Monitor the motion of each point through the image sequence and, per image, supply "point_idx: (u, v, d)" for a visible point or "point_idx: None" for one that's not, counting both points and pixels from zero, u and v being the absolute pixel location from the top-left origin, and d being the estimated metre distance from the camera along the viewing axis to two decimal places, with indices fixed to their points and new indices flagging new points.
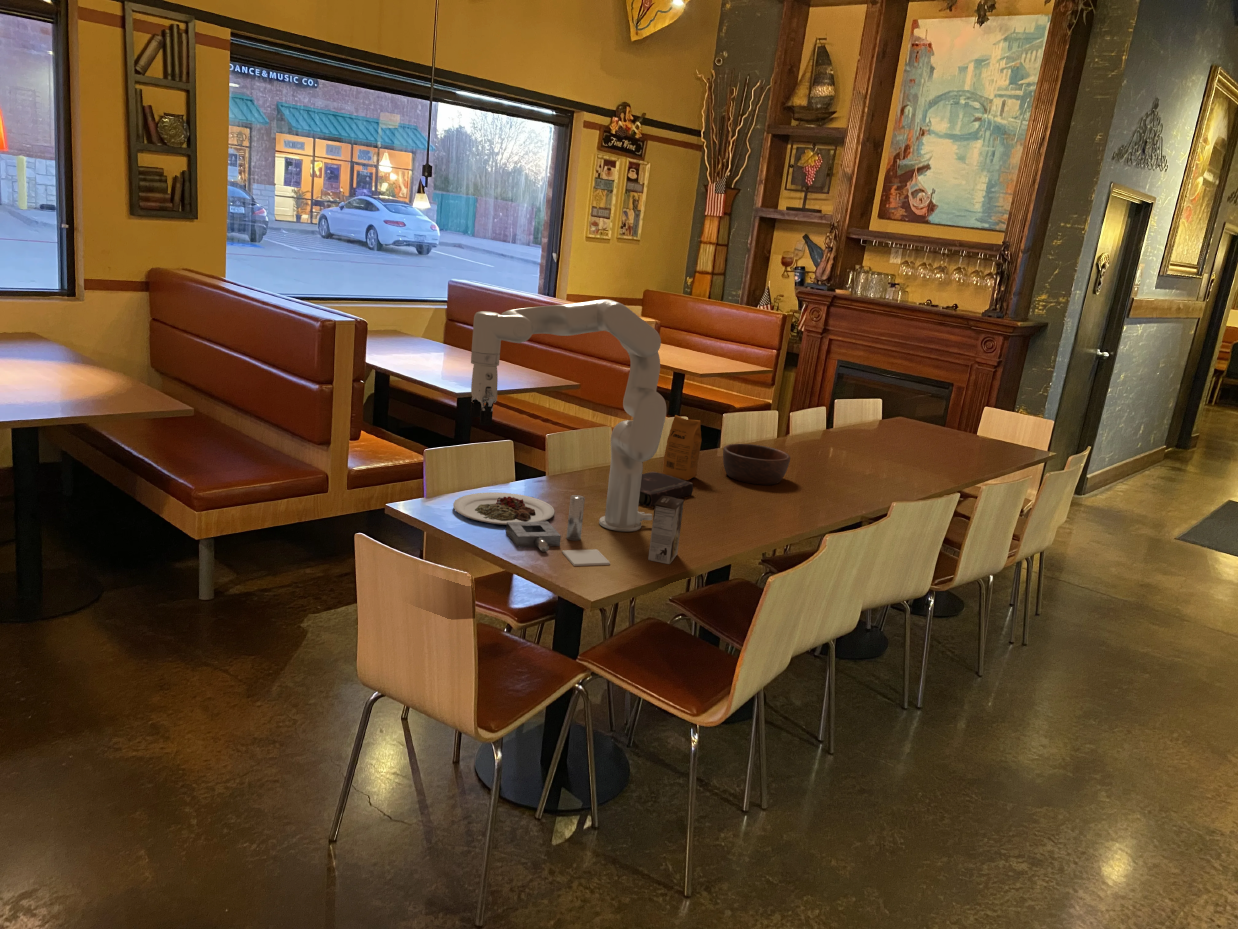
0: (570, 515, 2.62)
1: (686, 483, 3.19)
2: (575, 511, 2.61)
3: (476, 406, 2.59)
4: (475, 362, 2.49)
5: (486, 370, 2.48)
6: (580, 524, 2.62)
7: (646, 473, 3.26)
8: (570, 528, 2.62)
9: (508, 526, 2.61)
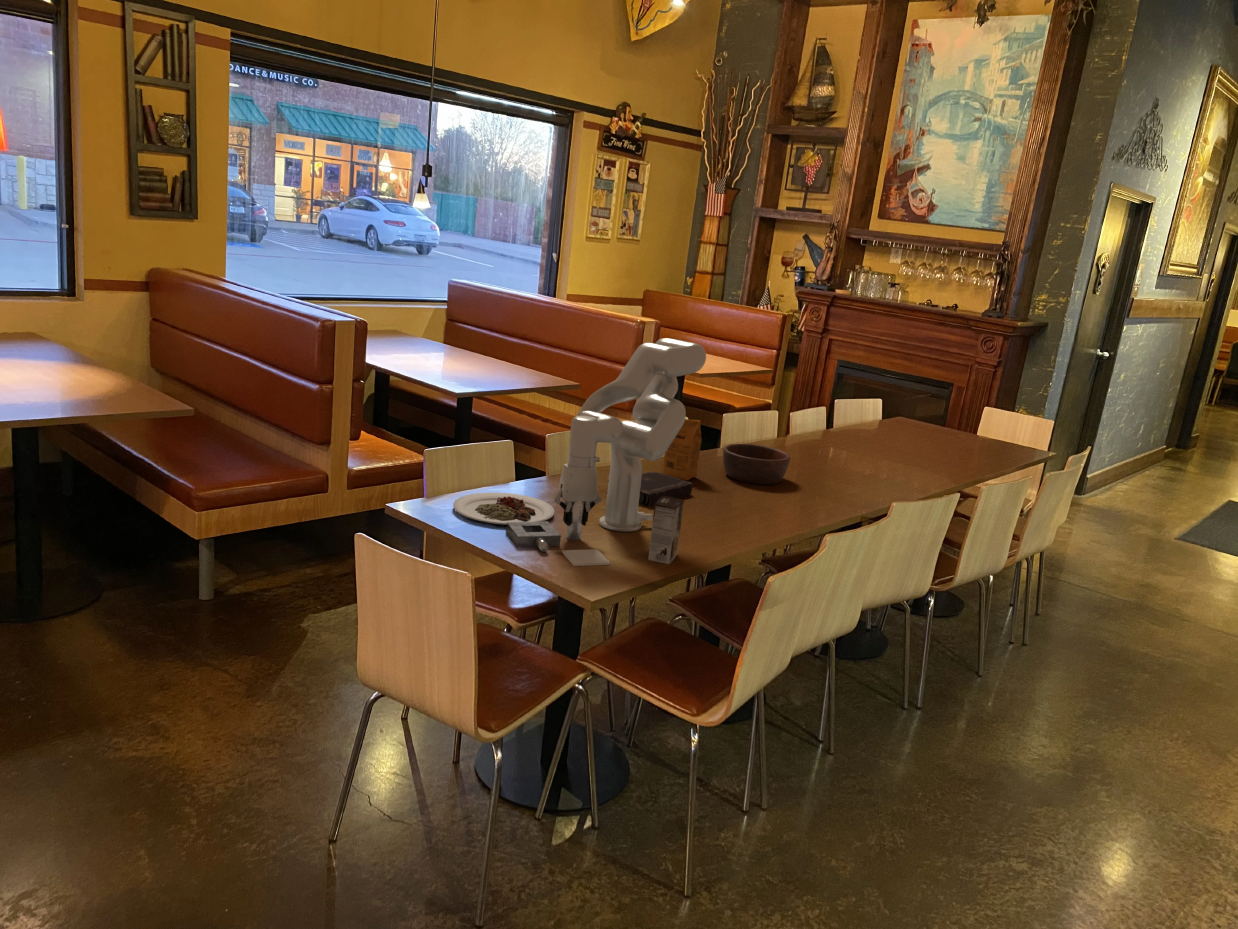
0: None
1: (685, 483, 3.19)
2: (575, 511, 2.61)
3: None
4: (591, 467, 2.57)
5: None
6: (580, 524, 2.62)
7: (645, 473, 3.27)
8: (570, 528, 2.62)
9: (508, 526, 2.61)
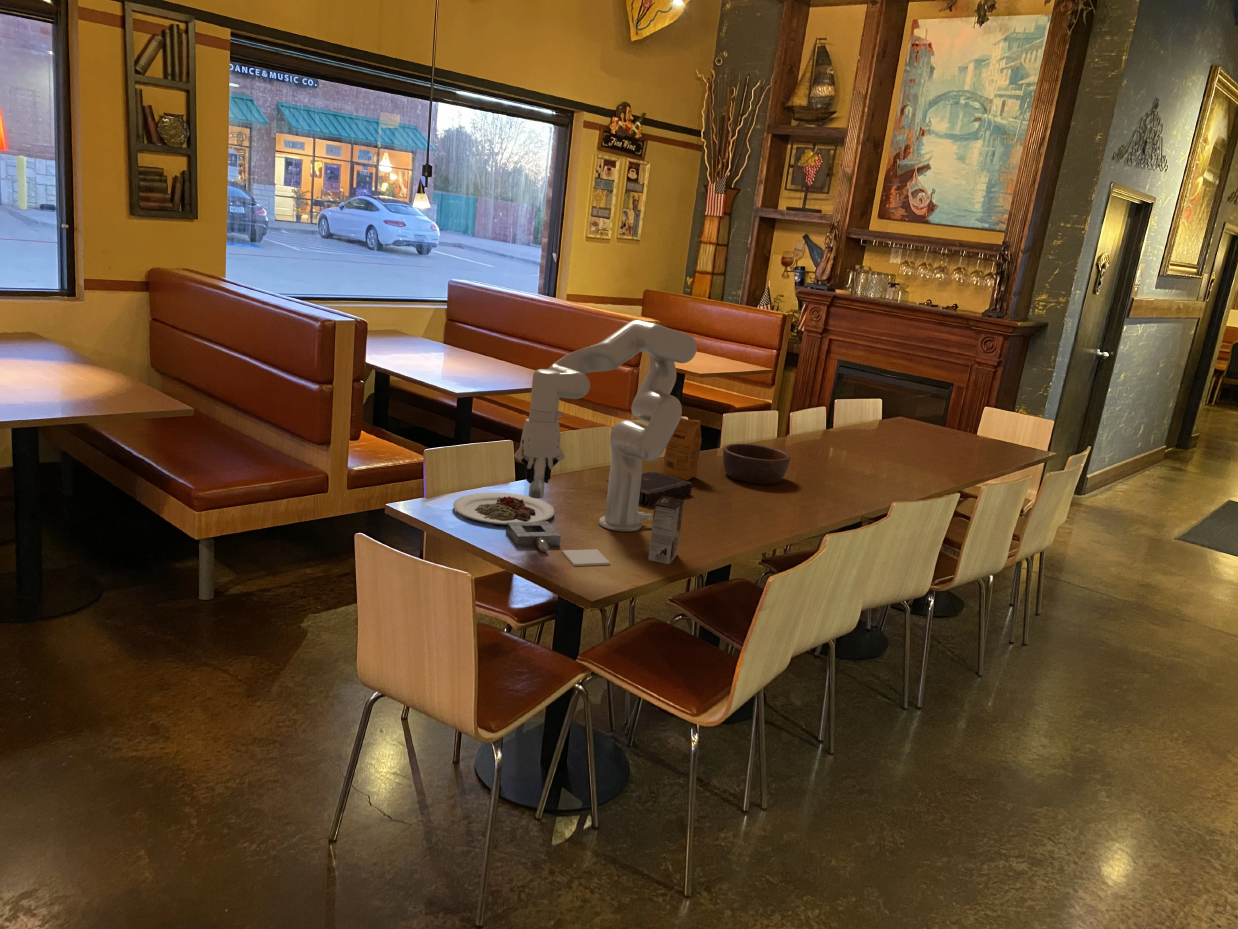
0: None
1: (684, 483, 3.19)
2: (537, 468, 2.53)
3: None
4: (553, 422, 2.50)
5: (559, 426, 2.53)
6: (543, 481, 2.55)
7: (645, 473, 3.27)
8: (532, 485, 2.54)
9: (508, 526, 2.61)
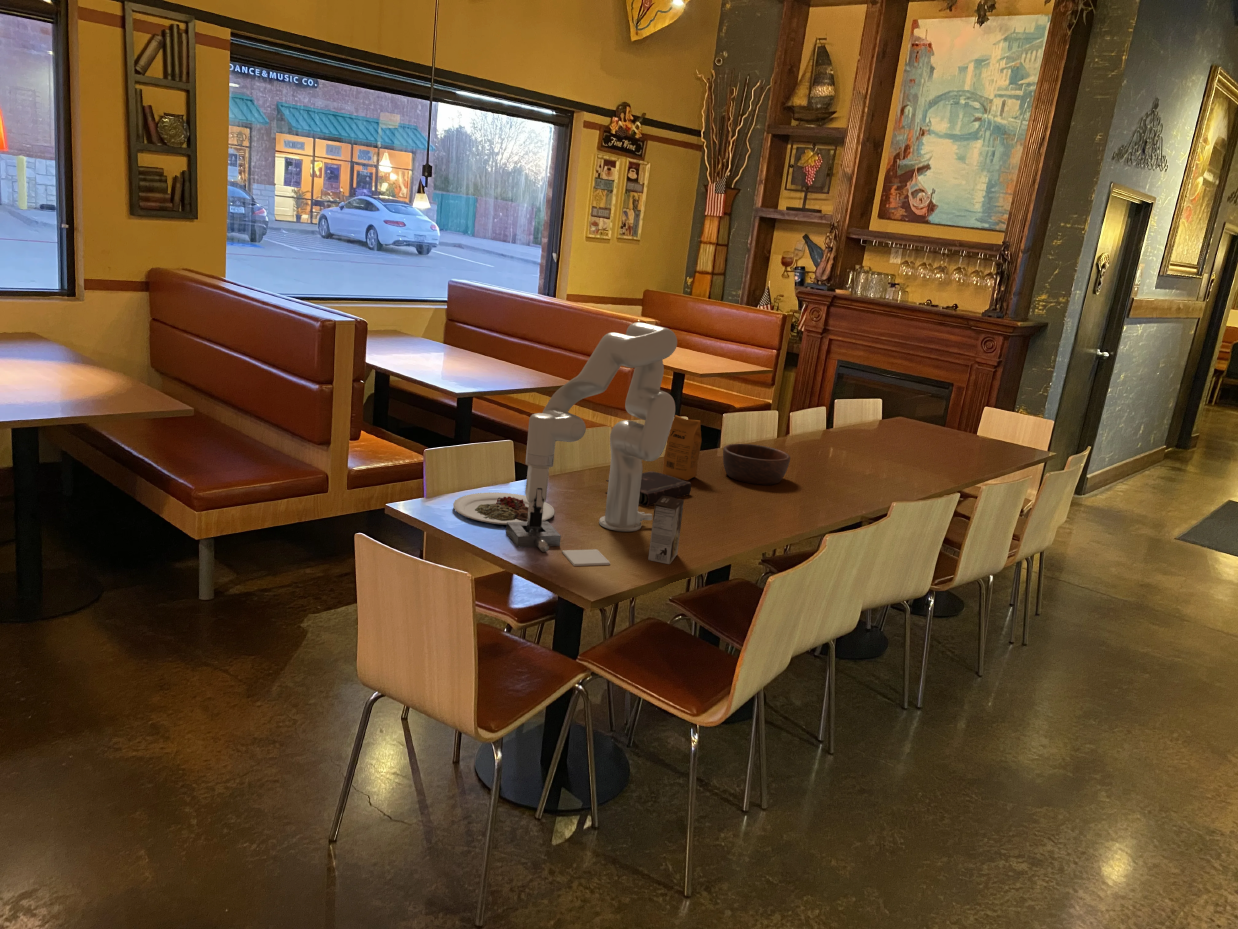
0: None
1: (684, 483, 3.19)
2: (542, 509, 2.57)
3: None
4: None
5: None
6: None
7: (644, 473, 3.27)
8: (539, 528, 2.58)
9: (508, 526, 2.61)
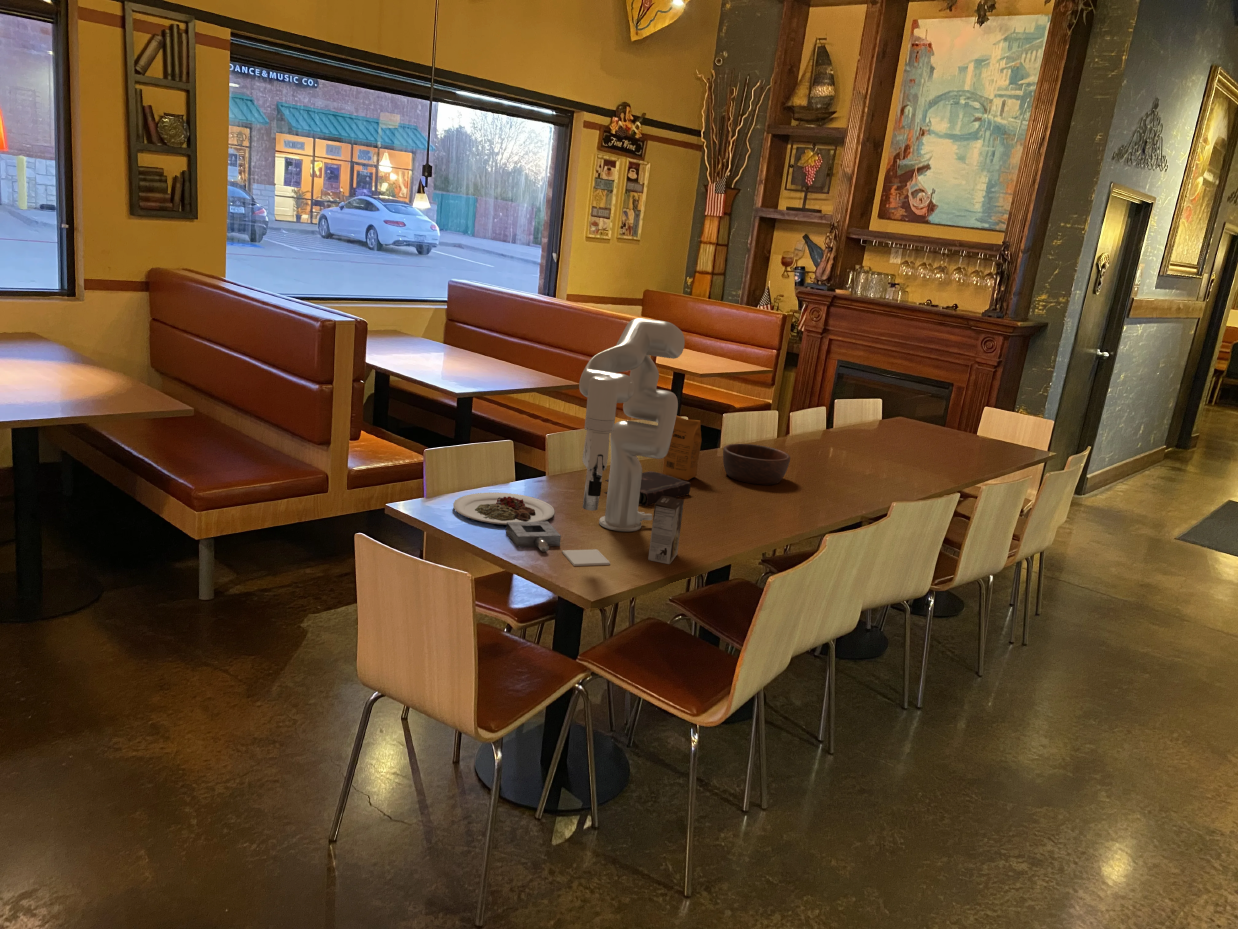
0: None
1: (683, 483, 3.19)
2: None
3: None
4: None
5: None
6: None
7: (644, 472, 3.27)
8: (597, 498, 2.44)
9: (508, 526, 2.61)
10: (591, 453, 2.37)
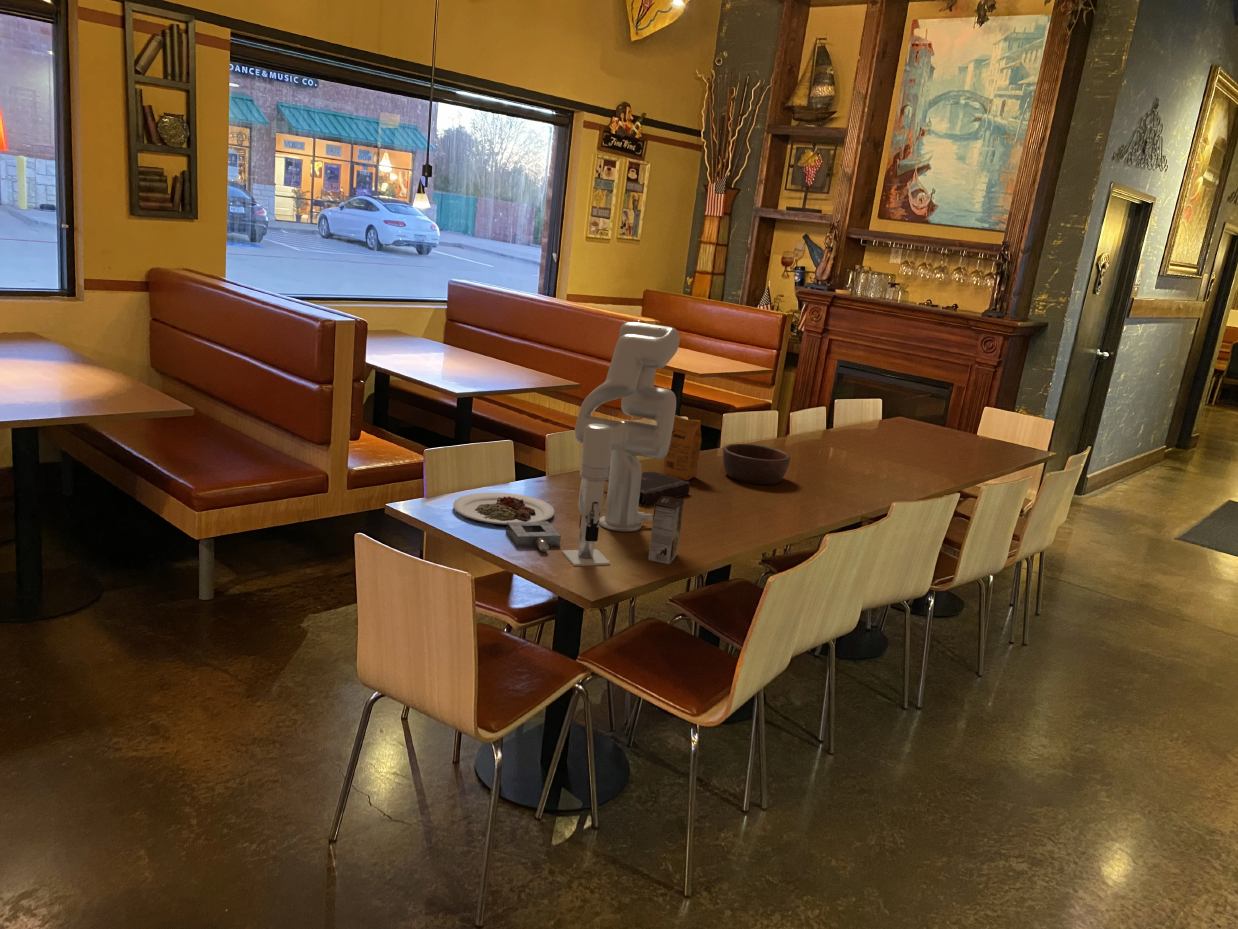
0: None
1: (682, 482, 3.19)
2: None
3: None
4: None
5: None
6: None
7: (643, 472, 3.27)
8: (592, 546, 2.47)
9: (508, 526, 2.61)
10: (586, 501, 2.40)
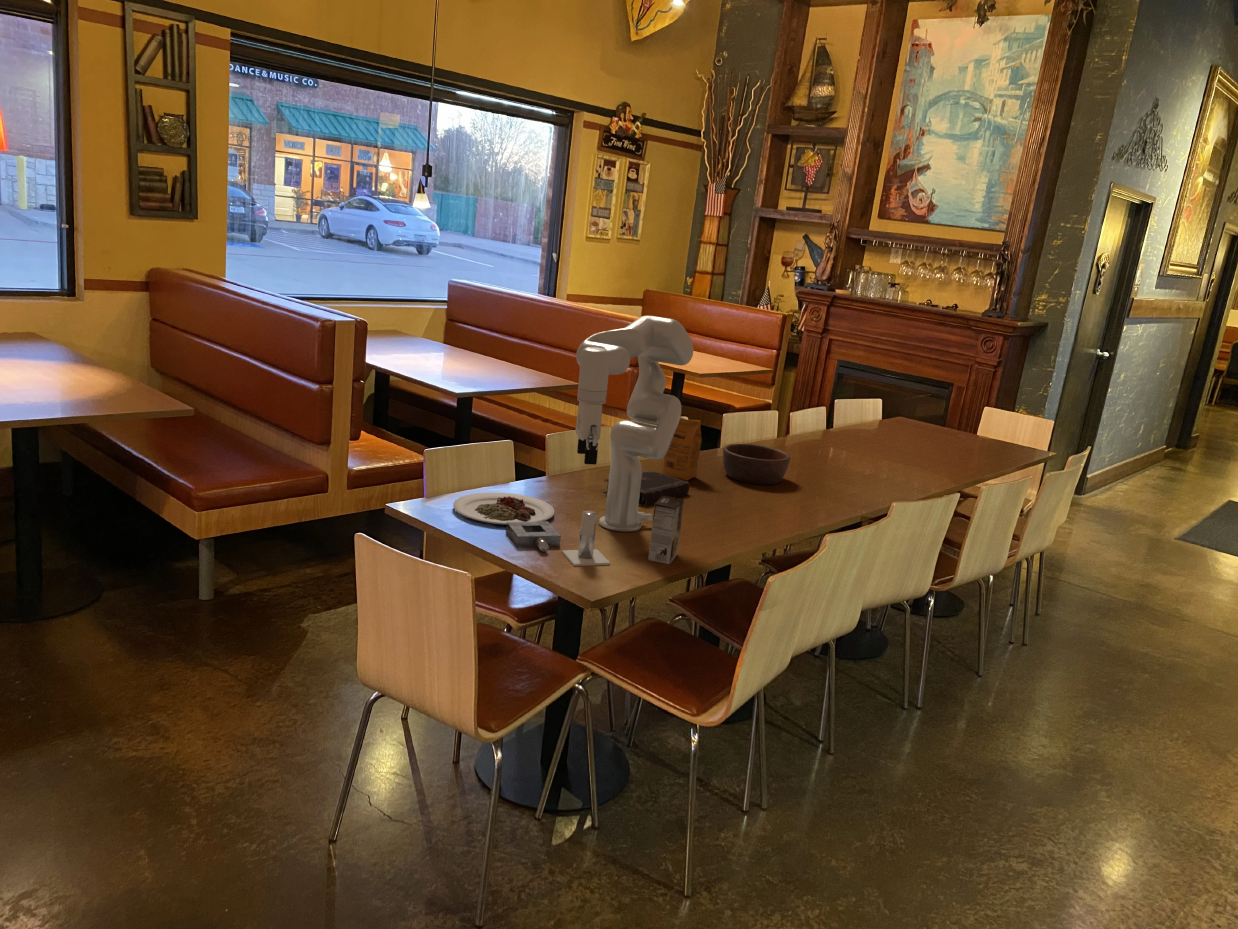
0: (591, 533, 2.46)
1: (682, 482, 3.19)
2: (595, 527, 2.47)
3: None
4: None
5: None
6: None
7: (643, 472, 3.27)
8: (592, 546, 2.47)
9: (508, 526, 2.61)
10: (585, 424, 2.41)
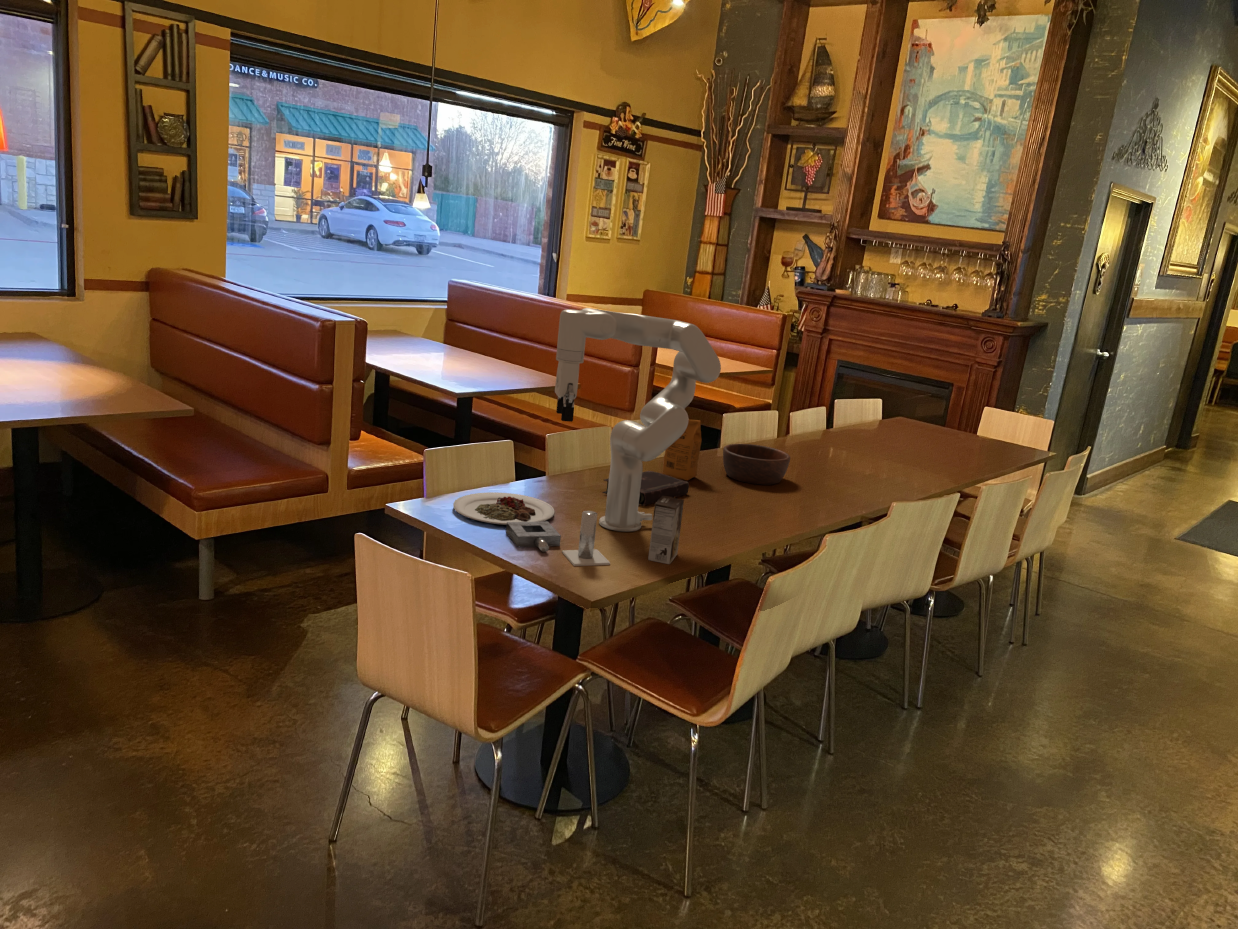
0: (591, 533, 2.46)
1: (682, 482, 3.19)
2: (595, 527, 2.47)
3: None
4: None
5: None
6: None
7: (642, 472, 3.27)
8: (592, 546, 2.47)
9: (508, 526, 2.61)
10: (562, 382, 2.53)
